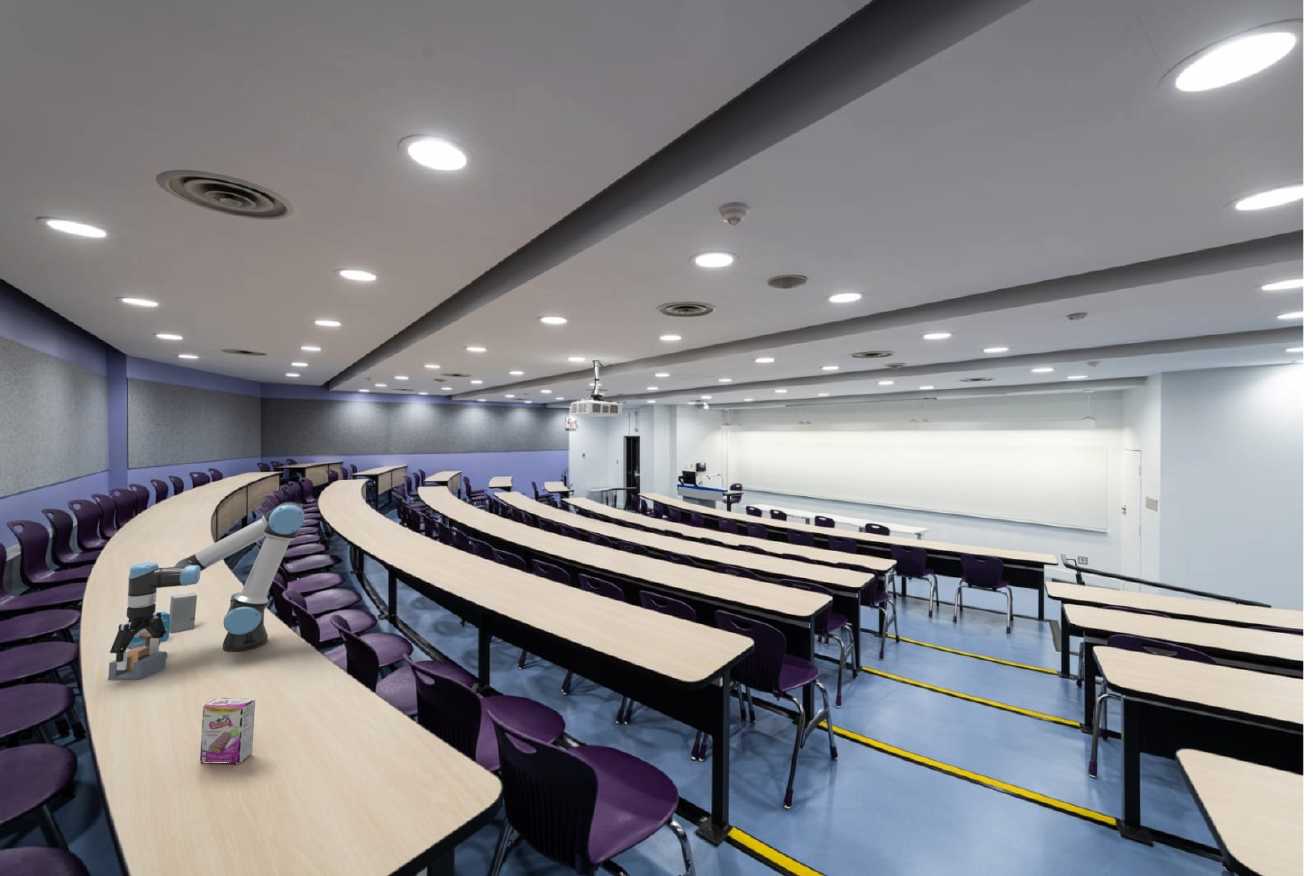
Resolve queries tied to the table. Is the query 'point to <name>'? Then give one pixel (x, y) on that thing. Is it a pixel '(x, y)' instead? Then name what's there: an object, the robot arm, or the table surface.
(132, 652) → the tab
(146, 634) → the door knob
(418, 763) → the table surface
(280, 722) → the table surface
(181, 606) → the skincare box
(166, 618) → the data package
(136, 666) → the notch board
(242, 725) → the candy bar box
